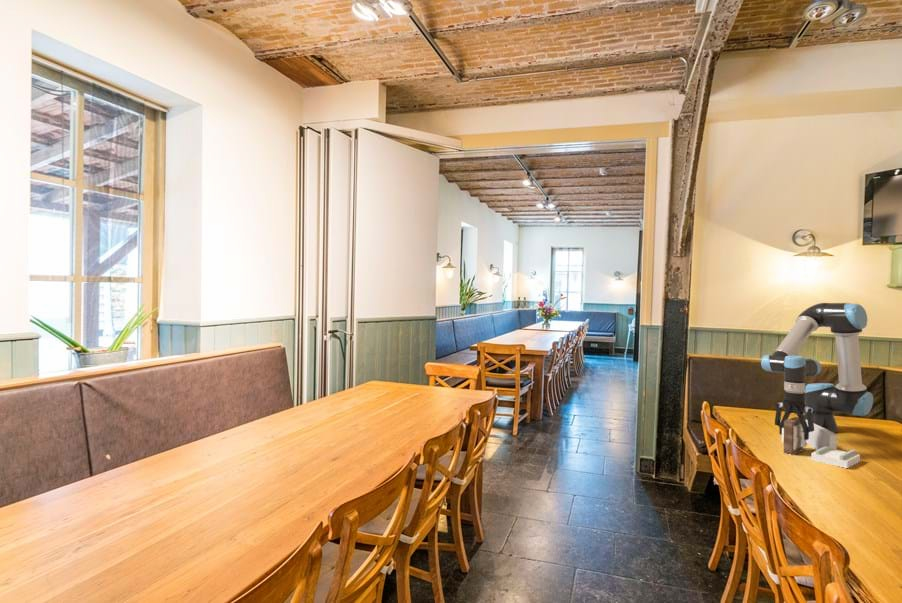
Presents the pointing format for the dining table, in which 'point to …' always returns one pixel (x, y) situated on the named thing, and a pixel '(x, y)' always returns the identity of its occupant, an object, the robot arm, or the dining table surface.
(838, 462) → the panel
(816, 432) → the decorative sign
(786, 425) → the brown picture frame
